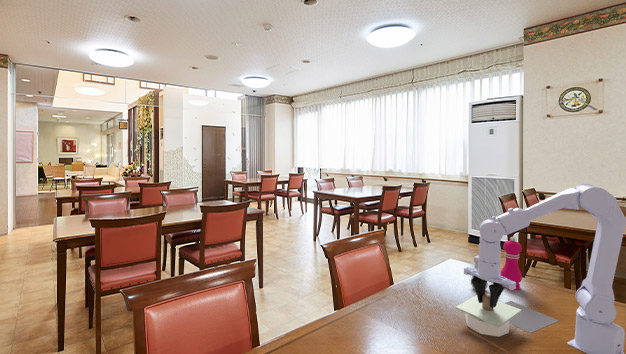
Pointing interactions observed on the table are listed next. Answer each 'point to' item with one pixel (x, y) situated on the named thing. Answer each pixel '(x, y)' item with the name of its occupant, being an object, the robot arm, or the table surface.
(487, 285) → the salt shaker
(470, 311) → the cover
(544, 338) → the table surface
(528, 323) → the mat
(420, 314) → the table surface
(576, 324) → the robot arm
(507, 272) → the pepper mill
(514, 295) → the table surface
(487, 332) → the bowl
